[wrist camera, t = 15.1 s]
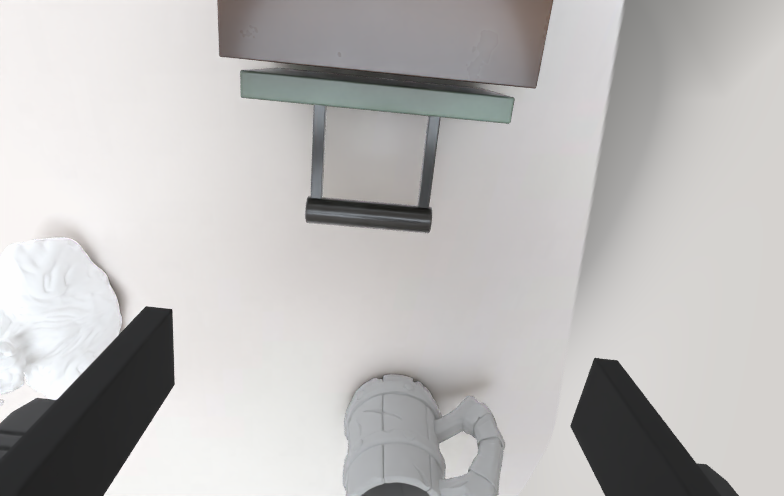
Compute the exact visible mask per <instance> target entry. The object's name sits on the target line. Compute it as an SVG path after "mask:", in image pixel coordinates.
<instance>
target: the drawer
mask: <svg viewBox="0 0 784 496" xmlns="http://www.w3.org/2000/svg"><path fill="white" fill-rule="evenodd" d="M240 81H241V97H242V98H250V99H260V100H270V101H281V102H291V103H301V104H311V105H314V117H313V145H312V174H311V196H309V197H308V198H307V202H306V211H305V219H306V222H307V223H315V224H327V225H338V226H350V227H362V228H373V229H385V230H396V231H408V232H420V233H429V232H430V229H431V223H432V208H431V207H429V203H430V195H431V187H432V179H433V172H434V164H435V156H436V148H437V140H438V133H439V125H440V117H445V118H455V119H465V120H475V121H486V122H496V123H506V124H509V123H510V122H511V116H512V111H513V105H514V98H513V97H510V96H507V95H503V94H500V93H496V92H493V91H489V90H486V89H482V88H473V87H464V86H454V85H444V84H434V83H424V82H414V81H404V80H394V79H384V78H374V77H364V76H354V75H344V74H335V73H325V72H315V71H305V70H295V69H285V68H267V69H252V70H241V72H240ZM327 106H332V107H342V108H352V109H363V110H373V111H383V112H393V113H404V114H414V115H424V116H428V122H427V131H426V139H425V148H424V156H423V164H422V173H421V181H420V189H419V198H418V206H413V205H402V204H391V203H379V202H368V201H357V200H345V199H334V198H323V197H322V196H323V177H324V154H325V131H326V109H327Z"/></svg>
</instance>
